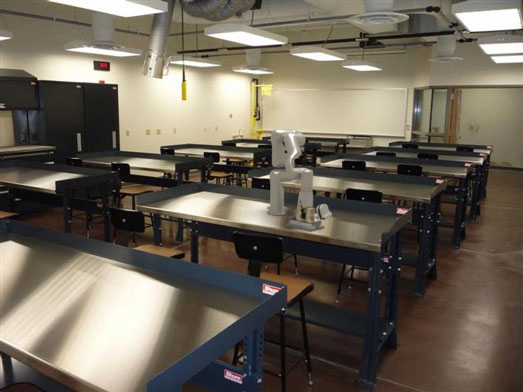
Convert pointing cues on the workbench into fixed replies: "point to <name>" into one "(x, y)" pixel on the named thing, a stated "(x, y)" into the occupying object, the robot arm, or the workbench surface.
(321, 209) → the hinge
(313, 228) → the track board
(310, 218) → the door panel
